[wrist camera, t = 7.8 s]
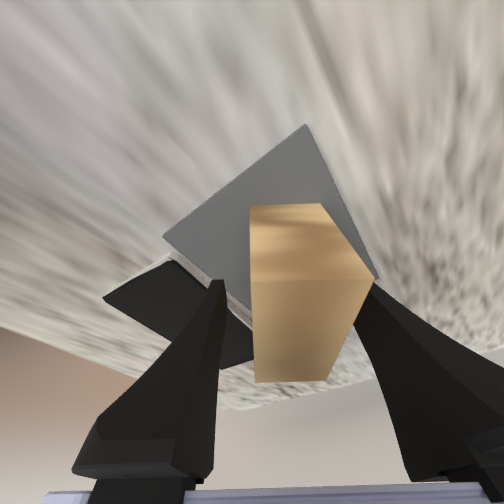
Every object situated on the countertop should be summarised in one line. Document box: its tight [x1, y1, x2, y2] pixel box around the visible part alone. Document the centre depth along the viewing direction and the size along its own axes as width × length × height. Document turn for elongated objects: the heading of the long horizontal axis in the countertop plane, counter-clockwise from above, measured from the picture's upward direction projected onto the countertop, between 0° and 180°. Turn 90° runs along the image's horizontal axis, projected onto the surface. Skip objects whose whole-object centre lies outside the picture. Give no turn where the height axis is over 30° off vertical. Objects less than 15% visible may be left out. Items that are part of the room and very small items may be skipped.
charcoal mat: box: [162, 124, 379, 312], centre depth 14 cm, size 12×10×1 cm
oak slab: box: [249, 203, 375, 383], centre depth 11 cm, size 4×8×6 cm, turn 2°
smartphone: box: [103, 252, 254, 370], centre depth 18 cm, size 8×1×15 cm
